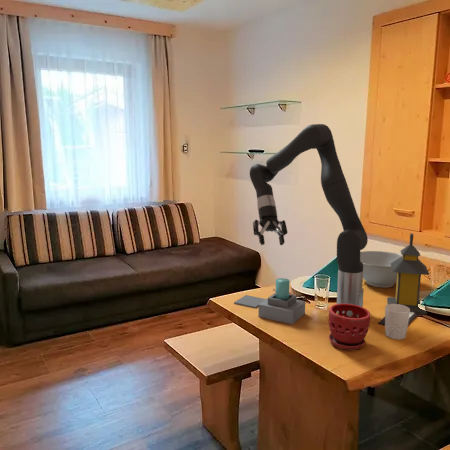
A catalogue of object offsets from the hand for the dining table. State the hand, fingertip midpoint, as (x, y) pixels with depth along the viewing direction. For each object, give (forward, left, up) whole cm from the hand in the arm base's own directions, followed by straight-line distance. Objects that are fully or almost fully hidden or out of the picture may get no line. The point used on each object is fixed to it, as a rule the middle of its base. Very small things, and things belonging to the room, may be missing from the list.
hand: (272, 244), depth 184 cm
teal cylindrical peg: (-10, +12, -19) cm, 25 cm away
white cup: (-51, +8, -24) cm, 57 cm away
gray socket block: (-10, +12, -24) cm, 29 cm away
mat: (+7, +6, -24) cm, 26 cm away
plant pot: (-39, +23, -24) cm, 51 cm away
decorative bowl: (-33, -46, -24) cm, 62 cm away
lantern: (-49, -22, -24) cm, 59 cm away
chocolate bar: (-49, -7, -25) cm, 55 cm away
